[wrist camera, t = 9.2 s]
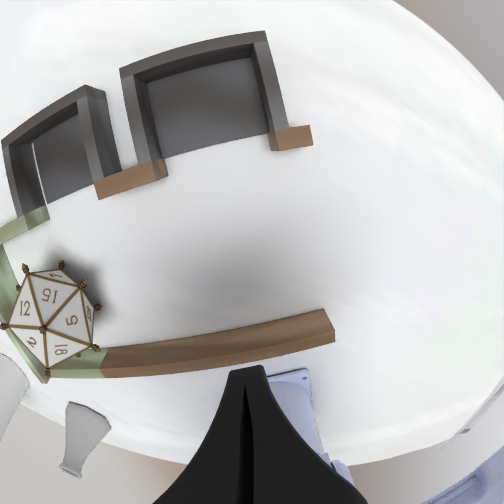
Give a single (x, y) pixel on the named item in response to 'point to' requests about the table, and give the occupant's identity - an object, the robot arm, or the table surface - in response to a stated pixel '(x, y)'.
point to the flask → (81, 437)
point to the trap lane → (152, 169)
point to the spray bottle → (10, 390)
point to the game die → (52, 317)
